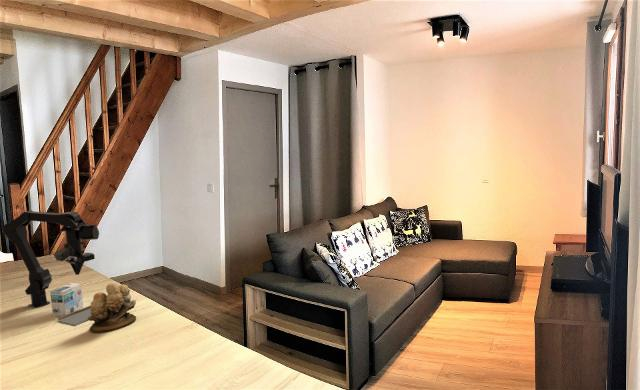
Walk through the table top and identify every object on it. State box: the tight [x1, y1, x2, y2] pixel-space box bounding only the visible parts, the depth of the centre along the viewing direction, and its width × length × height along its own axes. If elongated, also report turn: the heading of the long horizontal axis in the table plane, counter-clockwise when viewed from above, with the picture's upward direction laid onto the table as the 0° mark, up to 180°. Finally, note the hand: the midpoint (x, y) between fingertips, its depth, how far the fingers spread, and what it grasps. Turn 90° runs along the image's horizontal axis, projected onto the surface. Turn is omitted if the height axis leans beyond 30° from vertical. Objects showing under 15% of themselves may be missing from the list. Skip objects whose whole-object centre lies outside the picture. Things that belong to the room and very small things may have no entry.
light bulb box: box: [49, 282, 84, 317], centre depth 190 cm, size 11×7×11 cm, turn 168°
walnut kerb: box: [57, 304, 91, 321], centre depth 188 cm, size 1×16×1 cm, turn 152°
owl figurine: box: [88, 282, 137, 334], centre depth 173 cm, size 18×12×17 cm, turn 136°
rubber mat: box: [57, 309, 92, 327], centre depth 185 cm, size 11×18×1 cm, turn 152°
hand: (77, 274), depth 199 cm, fingers closed
